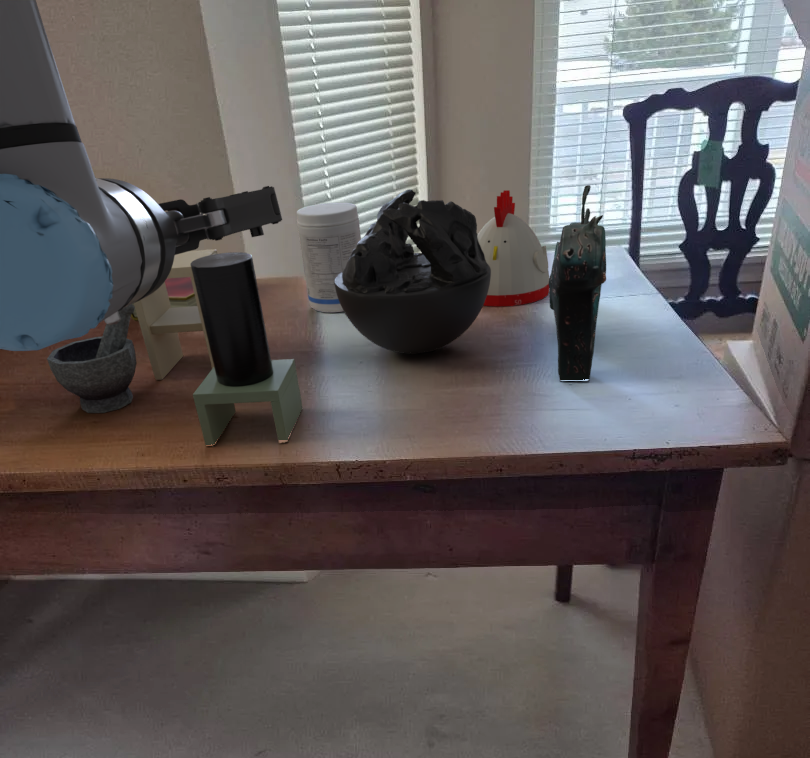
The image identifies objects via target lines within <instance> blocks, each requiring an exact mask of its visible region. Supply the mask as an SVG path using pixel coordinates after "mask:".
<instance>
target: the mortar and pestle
mask: <svg viewBox="0 0 810 758" xmlns="http://www.w3.org/2000/svg"><path fill="white" fill-rule="evenodd" d="M134 310H135V306H134V305H132V304H131V305H129V306H127V307H125V308H123V309H122V310H120V311H118V312H119V314H120V317H121V320H120V321H119V322H118V323H117V324H112V325H108V324H107V323H105V327H104V330H103V333H102V336H93V337H90V338H86V339H80V340H77V341H72V342H69V343H67V344H64V345H62V346H59V347H57V348H56V349H53V350H52V351H51V352H50V354H49V355H48V357H47V358H46V360H47V363H48V366H49V368H50V371H51V373H52V375H53V376H54V378H55V381H56V382H57V383H58V384H60V385H61V387H63V388H64V389H65V390H66V391H67V392H69V393H70V394H72V395H75V396H77V397H78V398H79V404H80V407H81V408H80V409H81V411H82V410H83V411H84V412H85V413H87V414H105V413H108V412H112V411H116V410H120V409H123V408H124V407H125V406H128V405H129V404H131V403H132V401H133V399H134V396H133V392H132V390H131V388H130V385H131V383H132V381H133V379H134V377H135V373H136V368H137V364H138V363H137V356H136V355H137V354H136V349H135V346H134V342H133V340H132V339H130V338H128V332H129V329H130V328H129V327H130V322H131V314H132V313H133V312H134Z"/></svg>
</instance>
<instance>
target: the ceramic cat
mask: <svg viewBox="0 0 810 758" xmlns="http://www.w3.org/2000/svg"><path fill="white" fill-rule="evenodd" d="M591 187H592V186H591V184H587V185H584V188H583V191H582V197H581V210H580V211H581V212H580V222H579V221H577V222H575V221H574V222H570V223H569V224H566V225H564V226H563V227H562V229H561V234H560V239H559V241H556V244H555V248H554V249H555V250H554V255H553V260H552V261H553V262H552V265H551V270H550V271H551V272H550V273H549V294H548V298H549V308H550V310H552V311H553V314H554V322H555V329H556V339H557V373H558V378H559V381H560V380H583V379H584V380H585V379H591V372H592V367H593V366H592V365H593V359H594V352H595V342H596V333H597V321H598V316H599V315H598V314H599V307H600V301H601V299H600V298H601V294H602V293H601V292H602V285H603V284H604V283H605V282H606V281H607V251H606V248H607V247H606V245H607V242H606V239H607V238H606V229H605V227H604V225H599V222H600V221H601V220H602V219H603V217H604V214H601V215H599V216H596V215H594V216H593V217H592V218H591V219H590V217H591V210H590V208H588V207H587V208H585V207H586V206H585V205H586V202H587V198H588V195H589V193H590V192H591Z"/></svg>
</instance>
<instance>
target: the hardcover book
mask: <svg viewBox="0 0 810 758" xmlns="http://www.w3.org/2000/svg"><path fill="white" fill-rule="evenodd" d="M165 285H166V289H167V293H168V297H169V301H170V305H171V308H174V307H191V306H197V302H196V298H195V294H194V290H193V285H192V281H191V277H183V278H168V279H166V280H165ZM132 305H134V303H133V304H132ZM130 319H132V321H139V320H138V317H137V313H136V310H134V312H133V313H132V314H131V317H130Z"/></svg>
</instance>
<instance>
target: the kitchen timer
mask: <svg viewBox="0 0 810 758" xmlns="http://www.w3.org/2000/svg"><path fill="white" fill-rule="evenodd" d="M515 211H516V202H513V196H511V191H510V190H508V189H507V190H506V189H505V190H503V191H502V192H500V195H497V196H496V206H494V207H493V212H494V216H493V217H492V218H491V219H489V220H488V221H487V222H486V223H485V224H484V225H483V227H481V229H480V230H479V231H478V232H477V237H478V242H479V244H480V246H481V248H482V251H483V253H484V256H485V260H486V262H487V264H488V265H489V266H490V269H491V279H490V286H489V290H488V294H487V297H486V299H485V302H484V305H483V307H513V306H521V305H522V306H523V305H527V304H531V303H535V302H538V301H540V300H543V299H545V298H546V297H547V296H549V294H548V293H549V291H550V289H549V278H550V271H549V260H548V253H547V246H546V245H543V246H542V244H541V242H540V240H539V238H538V236H537V235H536V233H535V232H534V231H533V229H532V228H531V227H530V226H529V224H528V223H527V222H526V221H525V220H523V219H522V218H521V217H519V216H517V215H515ZM544 297H545V298H544Z"/></svg>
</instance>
